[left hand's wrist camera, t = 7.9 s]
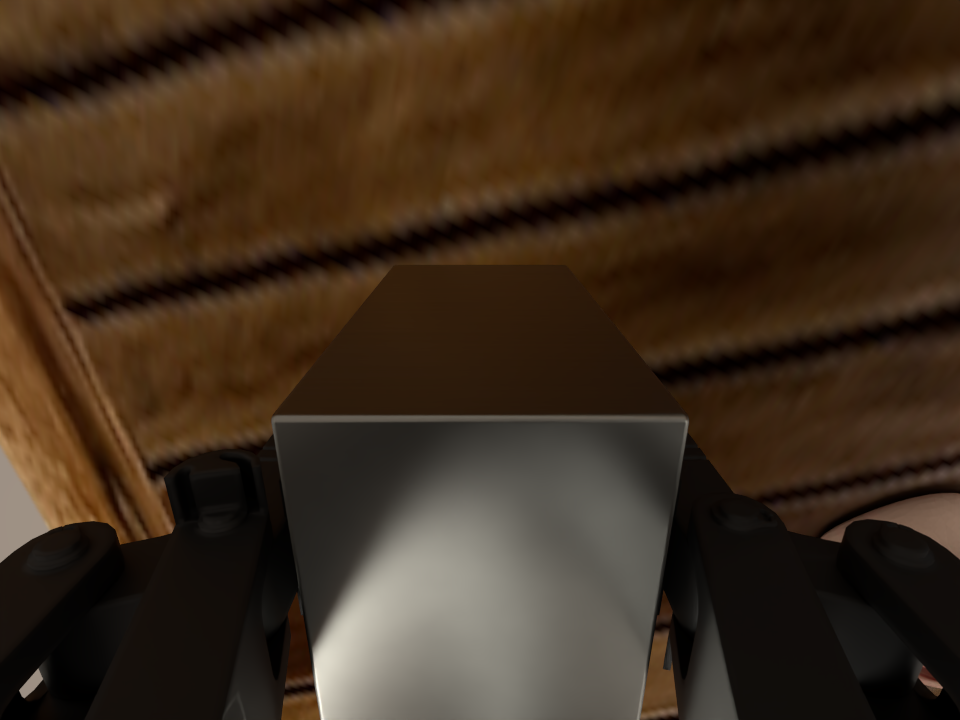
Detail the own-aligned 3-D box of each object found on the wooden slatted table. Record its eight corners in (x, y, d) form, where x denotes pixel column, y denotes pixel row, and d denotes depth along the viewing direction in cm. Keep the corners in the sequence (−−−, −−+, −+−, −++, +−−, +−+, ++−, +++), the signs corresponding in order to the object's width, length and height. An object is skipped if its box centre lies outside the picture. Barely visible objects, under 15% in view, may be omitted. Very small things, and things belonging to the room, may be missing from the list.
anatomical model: (812, 624, 25) (1053, 489, 22) (769, 564, 29) (971, 442, 26) (932, 757, 28) (1152, 656, 26) (879, 688, 32) (1067, 593, 29)
